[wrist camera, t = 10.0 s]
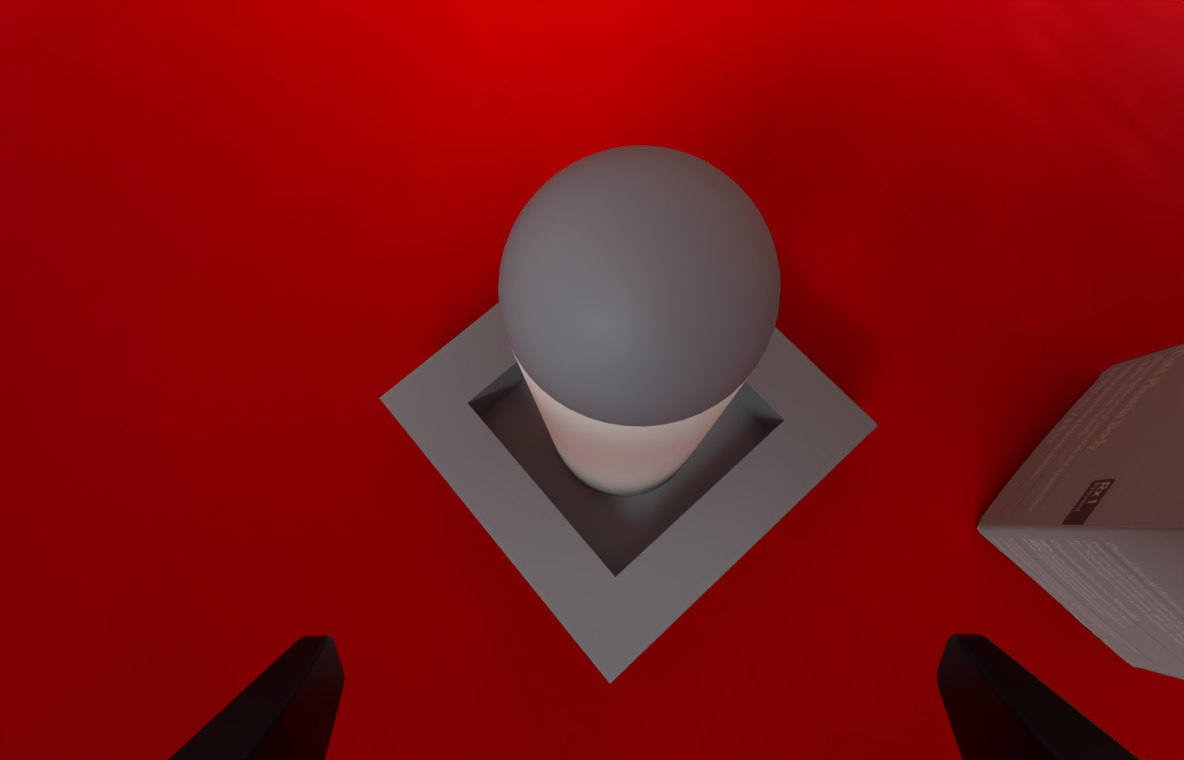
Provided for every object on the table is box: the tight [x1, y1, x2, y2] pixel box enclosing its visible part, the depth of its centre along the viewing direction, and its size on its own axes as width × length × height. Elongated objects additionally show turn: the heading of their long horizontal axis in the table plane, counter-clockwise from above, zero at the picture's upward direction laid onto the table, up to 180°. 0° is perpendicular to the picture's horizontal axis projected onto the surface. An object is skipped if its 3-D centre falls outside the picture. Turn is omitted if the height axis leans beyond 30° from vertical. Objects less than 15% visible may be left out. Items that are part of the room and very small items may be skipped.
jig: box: [380, 303, 878, 683], centre depth 21 cm, size 11×11×3 cm
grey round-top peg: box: [498, 146, 781, 497], centre depth 15 cm, size 5×5×13 cm
